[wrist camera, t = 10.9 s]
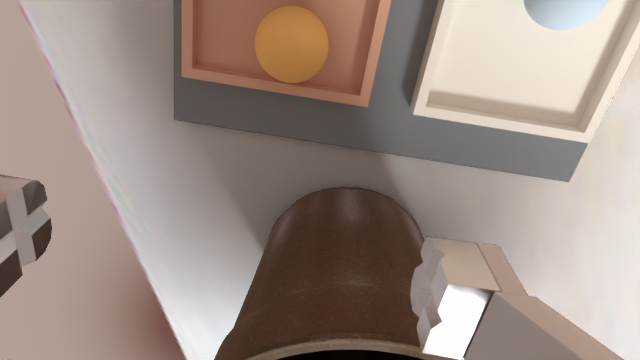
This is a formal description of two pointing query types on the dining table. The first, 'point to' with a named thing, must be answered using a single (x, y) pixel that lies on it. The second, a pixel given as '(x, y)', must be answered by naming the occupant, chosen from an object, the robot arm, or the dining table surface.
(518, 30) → the cream tray
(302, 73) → the orange ball
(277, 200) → the dining table surface
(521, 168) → the slate mat
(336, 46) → the terracotta tray
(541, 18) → the blue ball
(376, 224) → the plant pot
